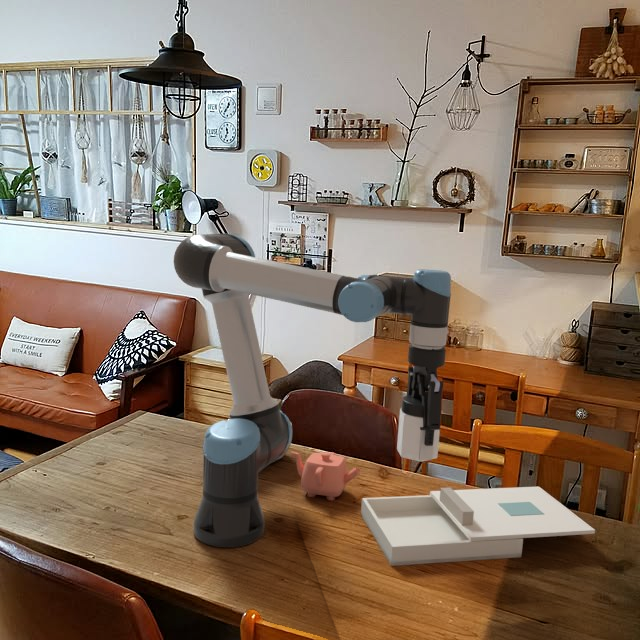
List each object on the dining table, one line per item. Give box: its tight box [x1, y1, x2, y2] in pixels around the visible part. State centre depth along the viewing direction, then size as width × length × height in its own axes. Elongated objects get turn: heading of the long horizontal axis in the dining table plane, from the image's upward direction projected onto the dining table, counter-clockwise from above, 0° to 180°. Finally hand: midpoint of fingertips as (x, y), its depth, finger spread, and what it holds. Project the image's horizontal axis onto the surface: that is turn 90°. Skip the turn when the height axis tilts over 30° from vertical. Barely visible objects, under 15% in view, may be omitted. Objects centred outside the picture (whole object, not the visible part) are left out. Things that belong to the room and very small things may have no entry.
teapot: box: [289, 450, 361, 501], centre depth 157 cm, size 14×12×10 cm
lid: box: [429, 486, 596, 541], centre depth 142 cm, size 28×22×4 cm
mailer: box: [360, 494, 524, 567], centre depth 139 cm, size 28×22×4 cm
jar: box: [396, 395, 441, 463], centre depth 135 cm, size 9×8×12 cm
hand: (419, 452), depth 135 cm, fingers closed on jar, 7 cm apart
